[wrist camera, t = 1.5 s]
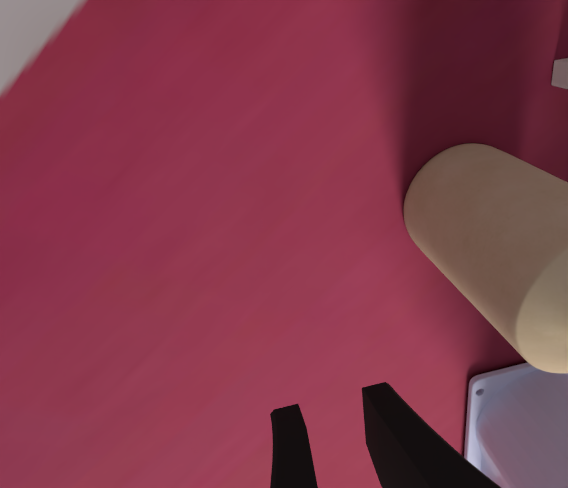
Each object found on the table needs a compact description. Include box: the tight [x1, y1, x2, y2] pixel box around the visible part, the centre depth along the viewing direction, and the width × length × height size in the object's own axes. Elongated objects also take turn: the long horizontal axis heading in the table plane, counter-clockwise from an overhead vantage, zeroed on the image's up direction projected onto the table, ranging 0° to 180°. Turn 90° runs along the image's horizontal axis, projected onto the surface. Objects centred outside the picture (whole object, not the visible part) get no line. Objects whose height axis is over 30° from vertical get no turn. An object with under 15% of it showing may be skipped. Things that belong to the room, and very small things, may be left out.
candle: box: [404, 143, 568, 373], centre depth 18 cm, size 6×6×10 cm
